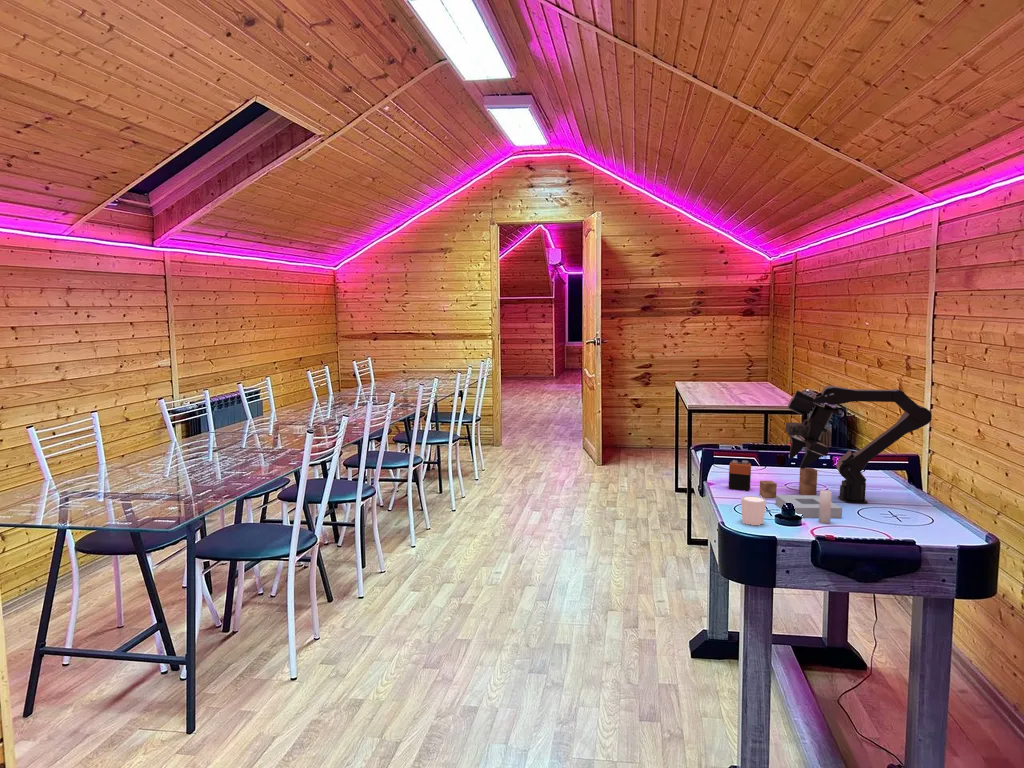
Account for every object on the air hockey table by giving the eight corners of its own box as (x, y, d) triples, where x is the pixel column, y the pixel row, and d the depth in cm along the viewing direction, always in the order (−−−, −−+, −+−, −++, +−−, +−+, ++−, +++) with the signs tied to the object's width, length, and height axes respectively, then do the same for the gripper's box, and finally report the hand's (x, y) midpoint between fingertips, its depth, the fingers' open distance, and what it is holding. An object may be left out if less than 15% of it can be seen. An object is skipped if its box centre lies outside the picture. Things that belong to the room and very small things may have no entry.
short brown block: (771, 495, 214) (772, 480, 213) (776, 498, 210) (776, 483, 209) (759, 495, 214) (760, 480, 213) (763, 498, 210) (764, 483, 209)
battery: (749, 491, 218) (750, 462, 217) (728, 489, 221) (729, 460, 220) (750, 488, 222) (751, 460, 221) (729, 486, 225) (730, 458, 224)
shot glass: (753, 527, 180) (754, 503, 179) (735, 521, 186) (735, 497, 185) (770, 524, 183) (771, 500, 182) (751, 517, 189) (752, 494, 188)
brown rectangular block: (810, 493, 216) (812, 467, 215) (816, 497, 212) (817, 470, 211) (798, 493, 216) (800, 467, 215) (804, 497, 212) (805, 470, 211)
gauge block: (819, 504, 203) (821, 476, 202) (851, 523, 183) (852, 493, 182) (775, 504, 203) (776, 476, 202) (802, 523, 183) (803, 492, 183)
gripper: (784, 405, 218) (763, 445, 221) (807, 420, 199) (784, 464, 203) (813, 417, 218) (792, 457, 222) (839, 433, 200) (816, 476, 204)
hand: (795, 463), depth 212 cm, fingers open, 9 cm apart
